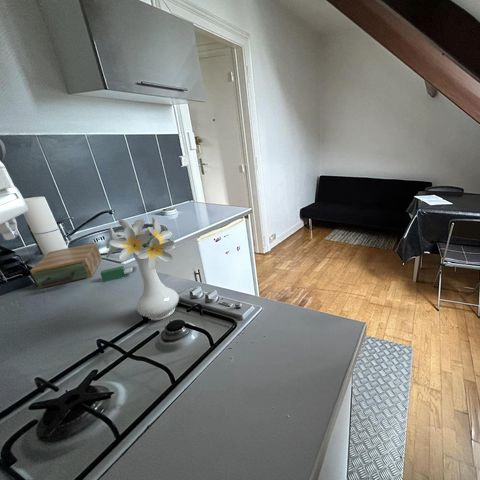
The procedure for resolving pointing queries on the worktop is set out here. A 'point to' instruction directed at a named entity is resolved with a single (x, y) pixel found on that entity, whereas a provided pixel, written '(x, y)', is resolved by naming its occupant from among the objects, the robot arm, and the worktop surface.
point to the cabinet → (70, 260)
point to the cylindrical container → (43, 225)
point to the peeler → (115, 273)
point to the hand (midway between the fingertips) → (13, 238)
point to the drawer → (60, 274)
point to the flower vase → (147, 264)
